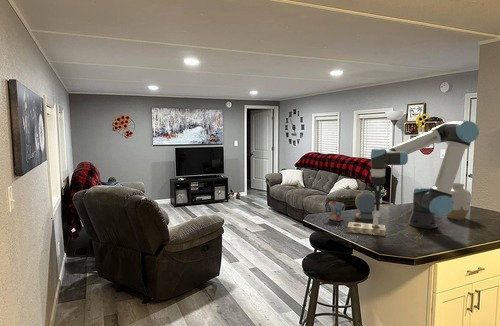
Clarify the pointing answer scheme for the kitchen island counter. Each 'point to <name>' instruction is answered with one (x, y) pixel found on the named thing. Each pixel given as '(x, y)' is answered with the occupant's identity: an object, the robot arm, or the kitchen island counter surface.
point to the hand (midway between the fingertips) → (377, 213)
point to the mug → (336, 211)
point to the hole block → (366, 228)
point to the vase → (460, 202)
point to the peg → (375, 221)
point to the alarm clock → (365, 204)
